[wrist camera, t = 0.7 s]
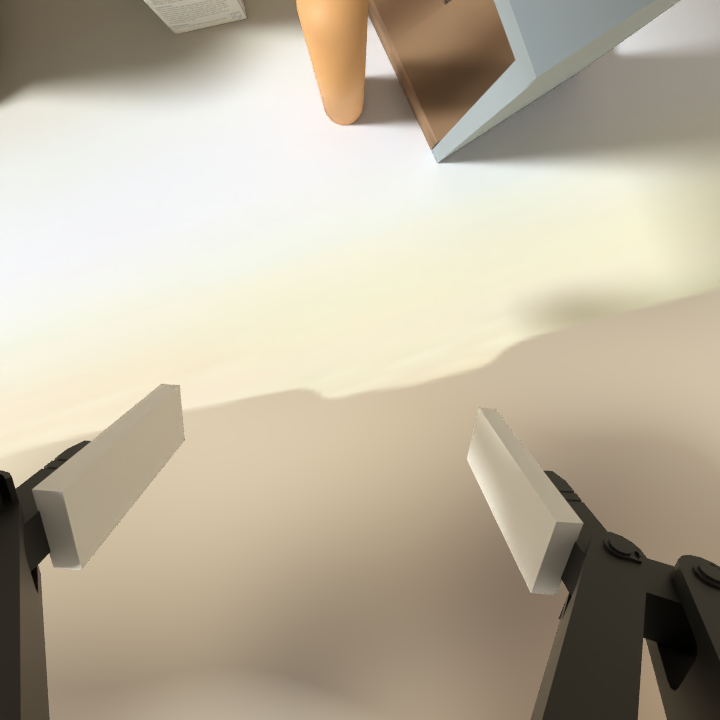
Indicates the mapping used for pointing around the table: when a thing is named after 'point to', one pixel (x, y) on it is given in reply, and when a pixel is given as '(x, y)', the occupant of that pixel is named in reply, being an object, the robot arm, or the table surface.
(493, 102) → the grey l-shaped bracket
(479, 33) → the socket board
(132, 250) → the table surface
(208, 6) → the light bulb box
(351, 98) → the peg
